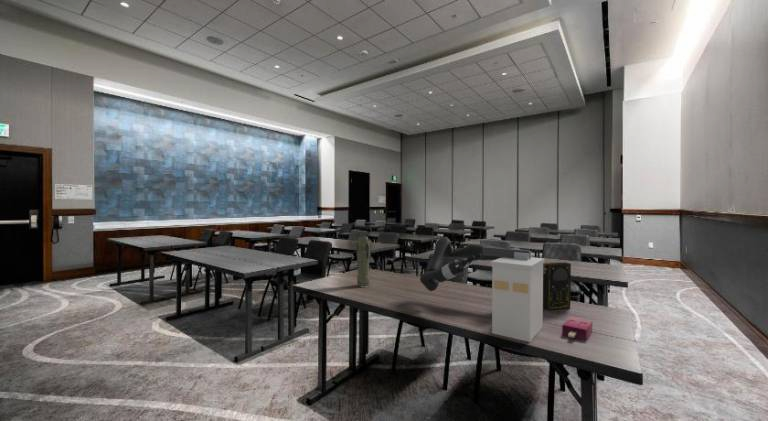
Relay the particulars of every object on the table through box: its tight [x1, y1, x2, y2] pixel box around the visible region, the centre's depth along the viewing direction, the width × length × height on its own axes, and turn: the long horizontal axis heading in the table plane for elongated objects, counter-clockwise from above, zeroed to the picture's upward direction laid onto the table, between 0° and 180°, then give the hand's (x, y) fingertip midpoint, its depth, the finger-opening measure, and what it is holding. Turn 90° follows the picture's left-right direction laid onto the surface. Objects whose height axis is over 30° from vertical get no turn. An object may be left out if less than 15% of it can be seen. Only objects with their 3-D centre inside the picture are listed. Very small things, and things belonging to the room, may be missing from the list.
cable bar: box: [482, 247, 532, 260], centre depth 162 cm, size 22×6×4 cm, turn 52°
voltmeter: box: [543, 261, 572, 311], centre depth 187 cm, size 16×9×25 cm, turn 105°
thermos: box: [356, 235, 372, 288], centre depth 237 cm, size 9×12×35 cm
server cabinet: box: [490, 256, 546, 343], centre depth 153 cm, size 17×23×32 cm
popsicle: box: [561, 316, 593, 341], centre depth 149 cm, size 9×5×20 cm
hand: (477, 256), depth 169 cm, fingers open, 8 cm apart
